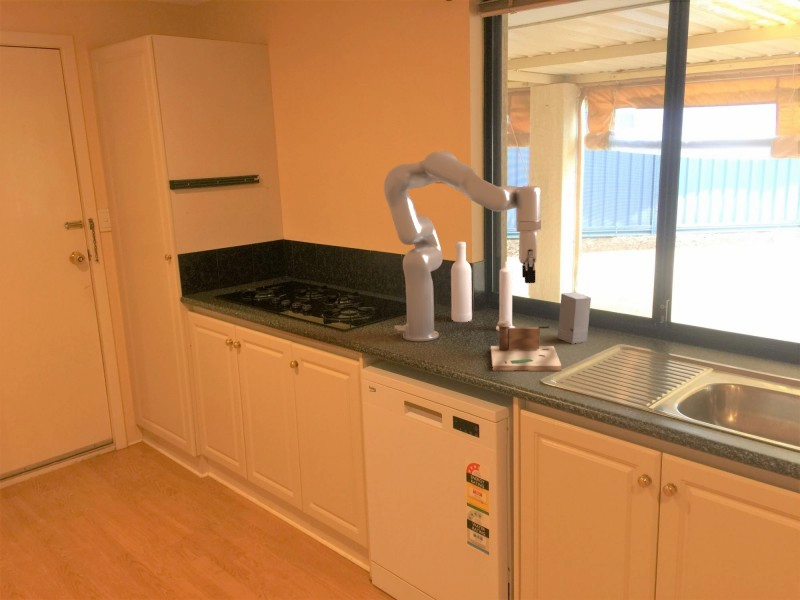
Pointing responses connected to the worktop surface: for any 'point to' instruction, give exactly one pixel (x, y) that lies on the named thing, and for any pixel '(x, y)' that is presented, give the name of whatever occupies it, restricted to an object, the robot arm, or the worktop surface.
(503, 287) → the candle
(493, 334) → the worktop surface
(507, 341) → the peg
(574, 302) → the skincare box
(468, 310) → the bottle
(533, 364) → the tuner plate
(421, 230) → the robot arm
